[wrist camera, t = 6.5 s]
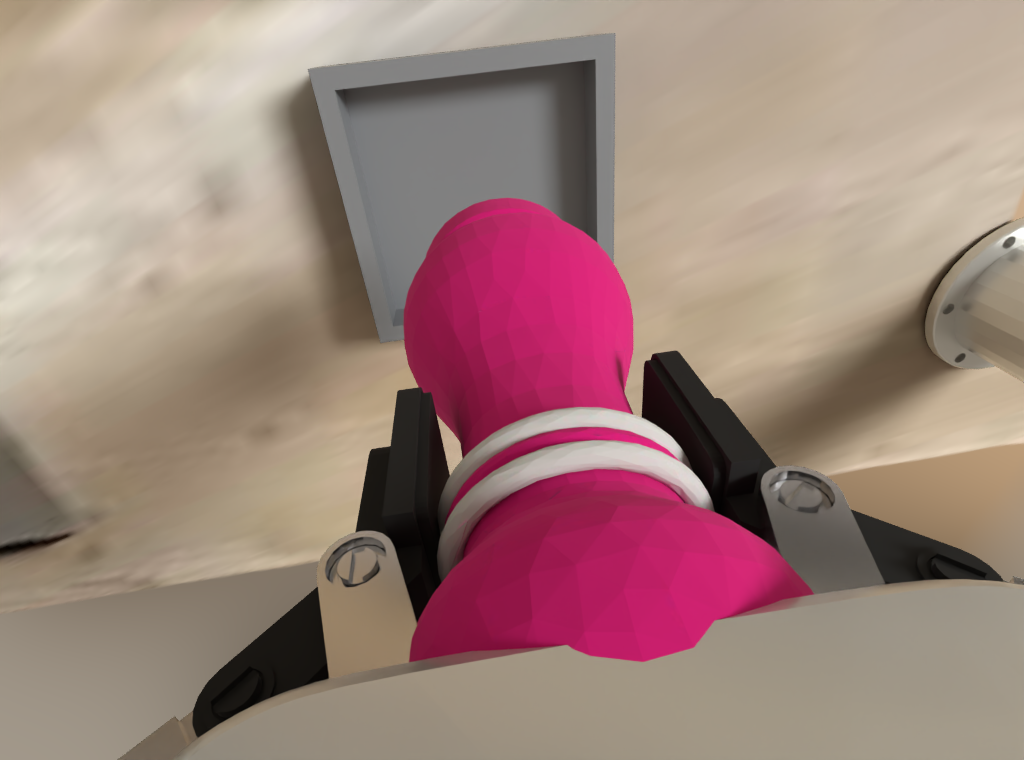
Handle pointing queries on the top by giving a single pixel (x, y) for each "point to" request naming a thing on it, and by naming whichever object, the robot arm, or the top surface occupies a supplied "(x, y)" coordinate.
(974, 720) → the robot arm
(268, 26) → the top surface
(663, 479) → the pepper mill
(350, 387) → the top surface
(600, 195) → the tray
